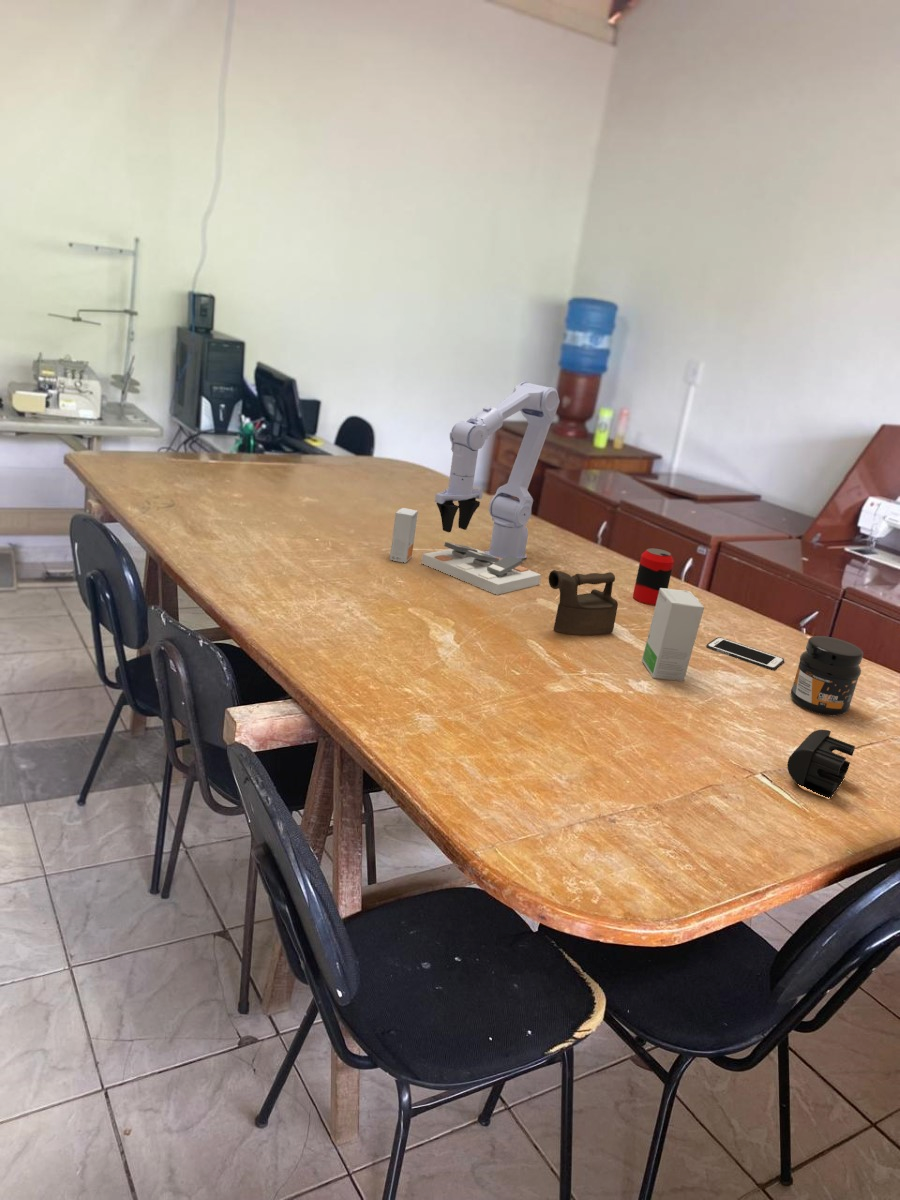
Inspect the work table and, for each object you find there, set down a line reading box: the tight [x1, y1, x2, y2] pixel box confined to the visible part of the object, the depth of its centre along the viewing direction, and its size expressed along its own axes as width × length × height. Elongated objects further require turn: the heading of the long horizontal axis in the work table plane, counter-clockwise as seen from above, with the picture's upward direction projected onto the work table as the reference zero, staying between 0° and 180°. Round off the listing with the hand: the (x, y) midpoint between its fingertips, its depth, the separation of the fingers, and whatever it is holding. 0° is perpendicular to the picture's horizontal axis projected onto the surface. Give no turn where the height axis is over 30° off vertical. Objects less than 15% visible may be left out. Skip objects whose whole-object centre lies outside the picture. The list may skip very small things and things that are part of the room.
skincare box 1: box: [389, 507, 419, 564], centre depth 216 cm, size 6×4×12 cm
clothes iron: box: [548, 569, 619, 636], centre depth 185 cm, size 8×16×13 cm, turn 120°
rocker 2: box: [466, 550, 499, 562], centre depth 213 cm, size 8×4×1 cm, turn 138°
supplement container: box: [790, 635, 864, 717], centre depth 164 cm, size 10×10×12 cm
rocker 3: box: [487, 555, 523, 576], centre depth 209 cm, size 8×4×1 cm, turn 137°
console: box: [421, 545, 542, 596], centre depth 214 cm, size 16×24×3 cm, turn 47°
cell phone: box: [705, 636, 785, 671], centre depth 187 cm, size 8×15×1 cm, turn 54°
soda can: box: [632, 547, 675, 606], centre depth 211 cm, size 8×8×12 cm
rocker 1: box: [443, 541, 477, 552], centre depth 217 cm, size 8×4×1 cm, turn 138°
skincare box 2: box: [641, 588, 705, 682], centre depth 169 cm, size 8×7×16 cm
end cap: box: [787, 729, 856, 799], centre depth 137 cm, size 10×7×7 cm
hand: (454, 529), depth 213 cm, fingers open, 5 cm apart
